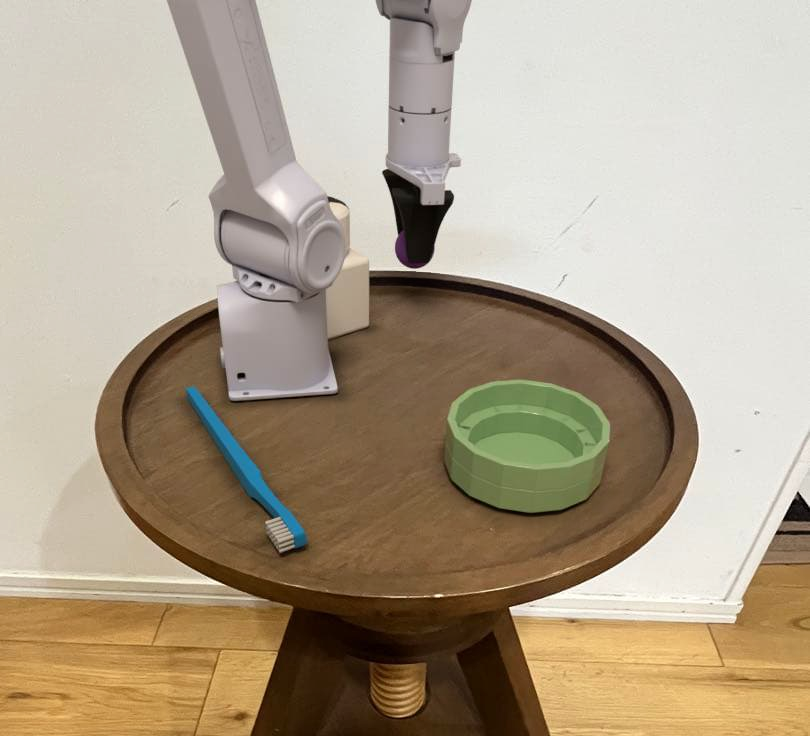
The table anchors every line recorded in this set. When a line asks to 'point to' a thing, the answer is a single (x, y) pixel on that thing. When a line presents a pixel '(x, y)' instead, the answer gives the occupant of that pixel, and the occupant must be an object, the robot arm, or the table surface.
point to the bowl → (526, 445)
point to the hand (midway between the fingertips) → (414, 253)
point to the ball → (402, 255)
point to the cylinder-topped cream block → (348, 285)
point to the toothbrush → (250, 478)
